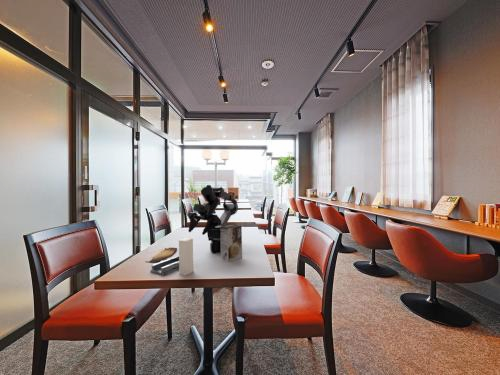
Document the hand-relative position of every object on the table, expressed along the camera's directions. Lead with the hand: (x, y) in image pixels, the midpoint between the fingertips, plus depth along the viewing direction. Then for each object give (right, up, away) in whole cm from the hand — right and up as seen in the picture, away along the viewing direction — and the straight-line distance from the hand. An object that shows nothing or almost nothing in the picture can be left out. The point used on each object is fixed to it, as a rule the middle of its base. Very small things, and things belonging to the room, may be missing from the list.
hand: (195, 233), depth 113 cm
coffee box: (+17, -13, +4) cm, 22 cm away
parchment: (-19, -14, +11) cm, 26 cm away
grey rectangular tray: (-8, -14, -9) cm, 18 cm away
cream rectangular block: (-1, -14, -15) cm, 20 cm away
